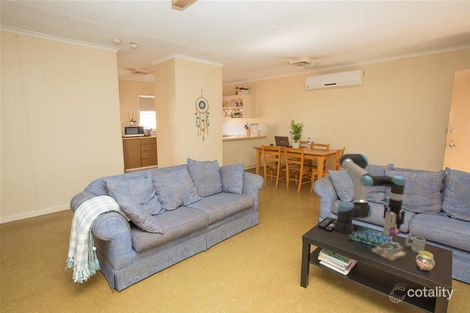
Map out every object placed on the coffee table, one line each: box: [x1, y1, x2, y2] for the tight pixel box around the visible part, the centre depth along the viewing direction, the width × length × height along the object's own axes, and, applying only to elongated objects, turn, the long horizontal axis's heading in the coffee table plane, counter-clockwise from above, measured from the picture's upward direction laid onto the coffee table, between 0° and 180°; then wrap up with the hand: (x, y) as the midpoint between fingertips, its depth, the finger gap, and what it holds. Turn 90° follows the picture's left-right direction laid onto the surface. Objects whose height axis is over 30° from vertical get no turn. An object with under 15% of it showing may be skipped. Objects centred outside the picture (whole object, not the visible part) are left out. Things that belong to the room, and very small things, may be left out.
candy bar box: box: [382, 210, 402, 237], centre depth 168 cm, size 11×5×16 cm, turn 115°
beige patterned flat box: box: [371, 241, 407, 262], centre depth 172 cm, size 14×17×4 cm
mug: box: [404, 232, 426, 254], centre depth 176 cm, size 8×12×12 cm, turn 46°
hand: (391, 230), depth 169 cm, fingers closed on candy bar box, 5 cm apart
